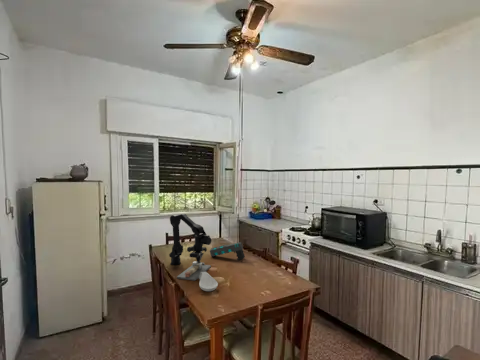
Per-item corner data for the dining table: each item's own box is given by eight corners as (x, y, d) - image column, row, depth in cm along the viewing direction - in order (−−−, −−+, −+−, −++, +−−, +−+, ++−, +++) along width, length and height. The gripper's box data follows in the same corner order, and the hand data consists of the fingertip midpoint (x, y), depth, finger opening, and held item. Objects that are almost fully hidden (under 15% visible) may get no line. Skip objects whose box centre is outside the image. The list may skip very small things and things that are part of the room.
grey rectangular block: (194, 267, 199) (194, 261, 199) (201, 268, 198) (201, 262, 197) (192, 268, 196) (192, 262, 196) (199, 269, 195) (199, 263, 195)
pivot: (200, 264, 208) (201, 261, 208) (204, 264, 207) (204, 262, 207) (198, 266, 203) (198, 263, 203) (201, 266, 202) (201, 264, 202)
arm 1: (198, 265, 203) (198, 262, 203) (199, 266, 202) (199, 263, 202) (185, 276, 181) (185, 273, 181) (186, 276, 181) (186, 273, 181)
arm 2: (200, 266, 202) (200, 263, 202) (201, 266, 202) (201, 263, 202) (186, 276, 181) (186, 273, 181) (188, 277, 181) (188, 273, 181)
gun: (244, 259, 220) (239, 241, 221) (213, 266, 228) (208, 249, 229) (246, 256, 227) (241, 240, 228) (216, 263, 234) (211, 247, 236)
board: (176, 278, 182) (176, 276, 182) (194, 265, 209) (194, 263, 209) (195, 280, 178) (195, 278, 178) (210, 266, 205) (210, 265, 205)
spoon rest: (220, 292, 162) (220, 280, 162) (201, 295, 158) (201, 283, 157) (209, 278, 184) (209, 267, 184) (193, 280, 179) (193, 270, 179)
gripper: (194, 239, 210) (194, 258, 211) (183, 245, 192) (183, 266, 193) (207, 240, 207) (206, 259, 207) (196, 246, 189) (196, 267, 190)
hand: (198, 263), depth 199 cm, fingers closed
